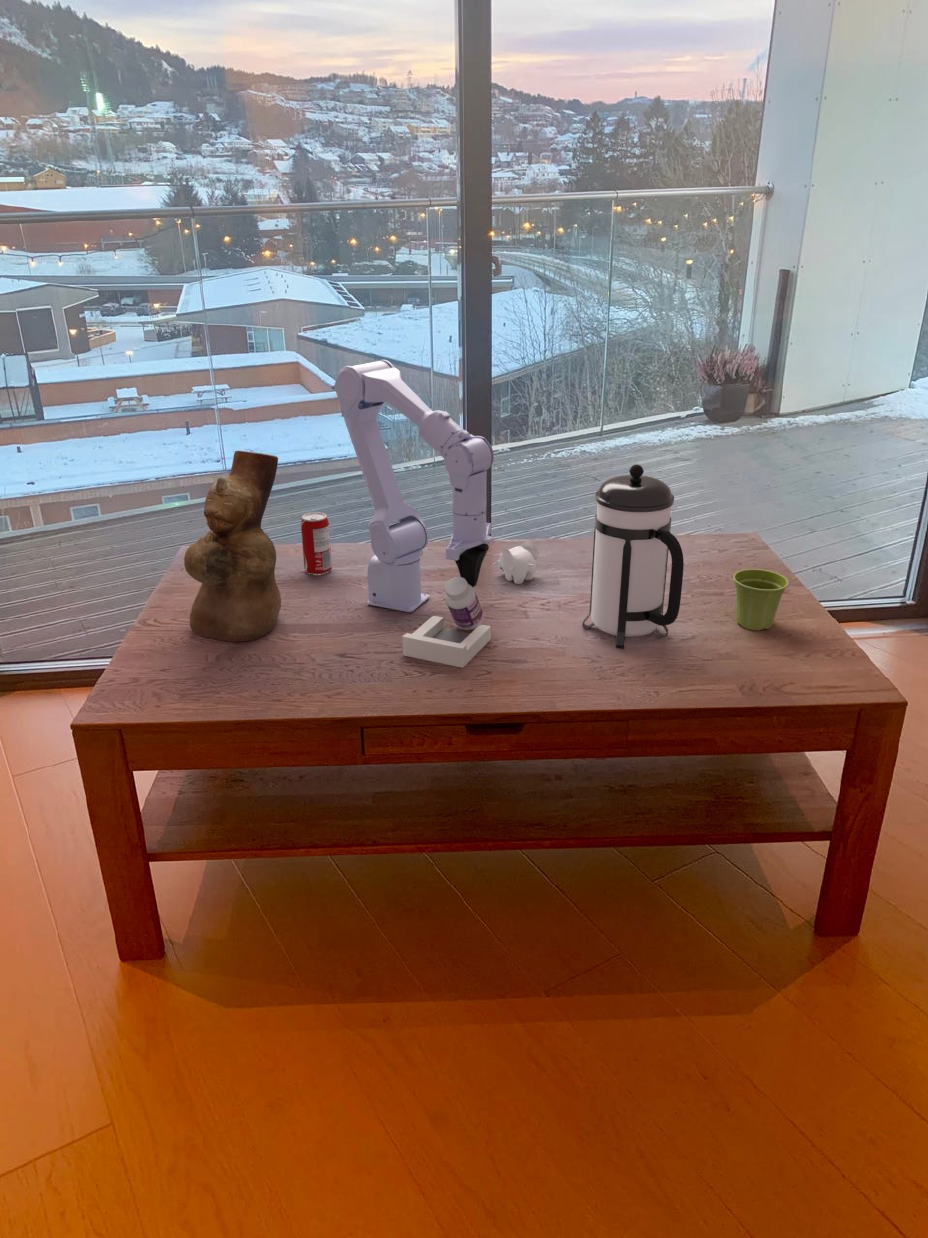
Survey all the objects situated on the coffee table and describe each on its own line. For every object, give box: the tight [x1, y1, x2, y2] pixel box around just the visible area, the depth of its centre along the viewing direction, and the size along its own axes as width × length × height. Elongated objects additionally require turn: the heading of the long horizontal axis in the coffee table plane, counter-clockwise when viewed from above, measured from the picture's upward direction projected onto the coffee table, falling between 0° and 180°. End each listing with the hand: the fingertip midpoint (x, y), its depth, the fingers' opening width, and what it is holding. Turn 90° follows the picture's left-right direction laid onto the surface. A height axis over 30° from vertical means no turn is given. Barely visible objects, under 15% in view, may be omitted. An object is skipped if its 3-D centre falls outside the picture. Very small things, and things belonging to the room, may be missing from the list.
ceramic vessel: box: [183, 450, 282, 643], centre depth 165 cm, size 16×22×30 cm
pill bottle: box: [444, 576, 484, 631], centre depth 164 cm, size 5×5×10 cm
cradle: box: [401, 615, 492, 669], centre depth 160 cm, size 11×12×4 cm
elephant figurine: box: [492, 540, 540, 585], centre depth 187 cm, size 8×10×7 cm
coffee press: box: [582, 464, 685, 650], centre depth 159 cm, size 17×16×30 cm
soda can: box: [300, 511, 333, 576], centre depth 190 cm, size 6×6×12 cm
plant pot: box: [732, 568, 790, 631], centre depth 167 cm, size 9×9×9 cm
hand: (469, 585), depth 165 cm, fingers closed
